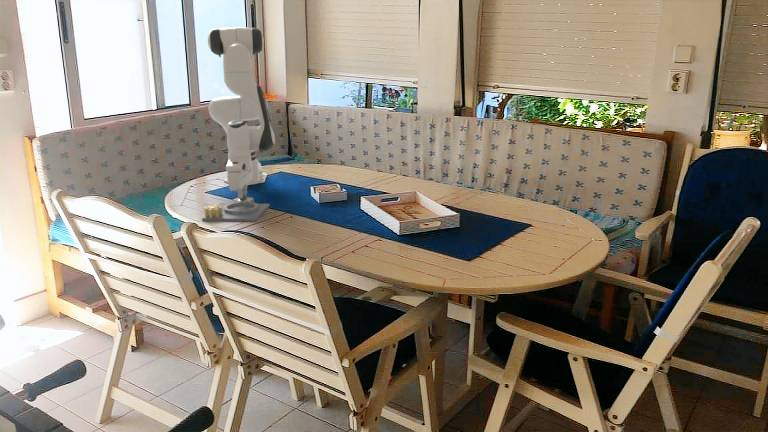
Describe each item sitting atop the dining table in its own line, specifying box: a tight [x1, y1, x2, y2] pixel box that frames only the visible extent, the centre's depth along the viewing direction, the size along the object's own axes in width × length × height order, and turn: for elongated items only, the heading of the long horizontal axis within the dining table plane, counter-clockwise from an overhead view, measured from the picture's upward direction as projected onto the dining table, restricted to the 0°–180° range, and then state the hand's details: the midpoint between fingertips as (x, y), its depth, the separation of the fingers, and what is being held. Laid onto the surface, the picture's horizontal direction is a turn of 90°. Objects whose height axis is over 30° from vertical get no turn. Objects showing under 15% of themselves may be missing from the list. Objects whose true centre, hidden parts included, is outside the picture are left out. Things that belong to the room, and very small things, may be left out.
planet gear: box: [232, 189, 255, 203], centre depth 254 cm, size 8×8×6 cm
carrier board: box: [201, 201, 271, 223], centre depth 241 cm, size 20×20×4 cm
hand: (242, 196), depth 254 cm, fingers open, 3 cm apart
